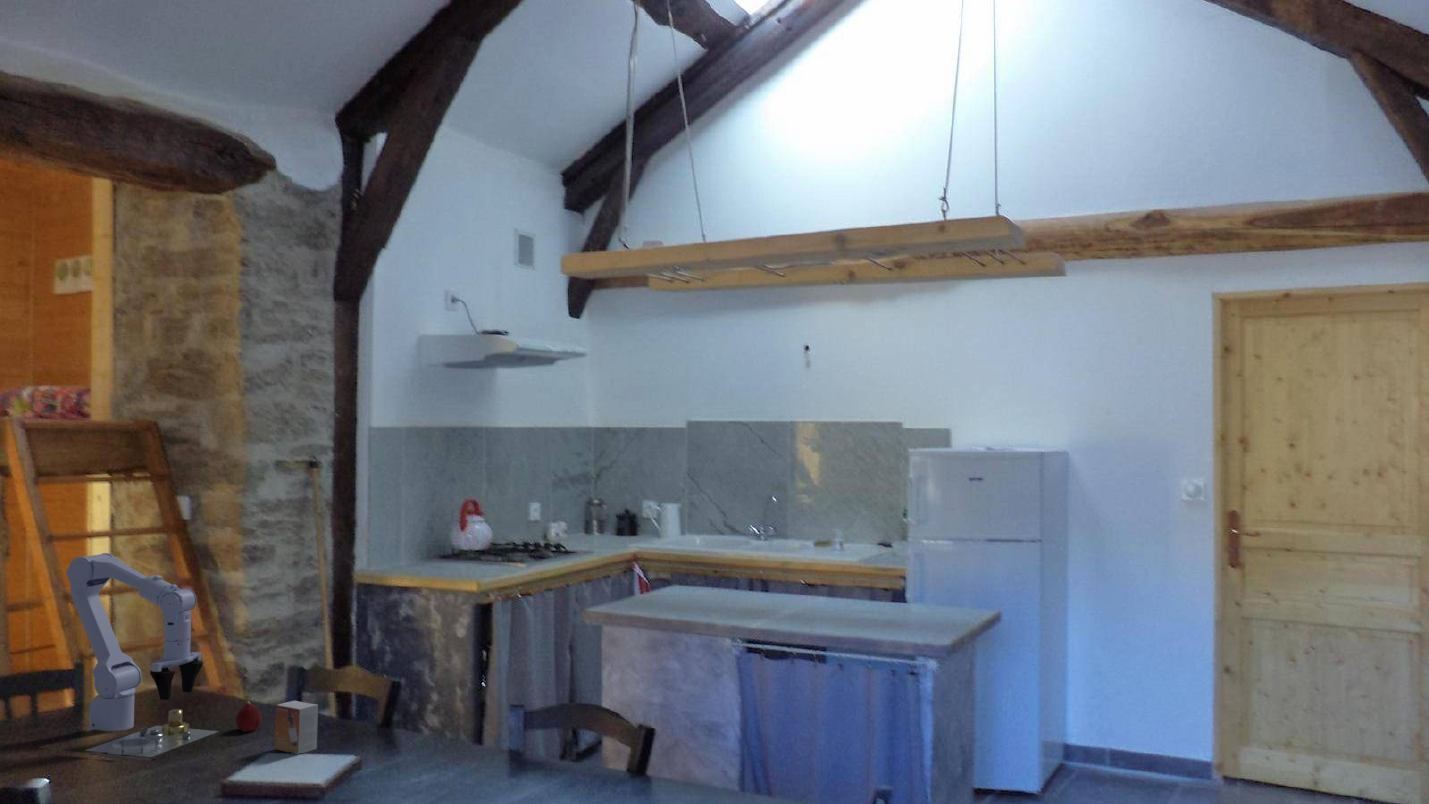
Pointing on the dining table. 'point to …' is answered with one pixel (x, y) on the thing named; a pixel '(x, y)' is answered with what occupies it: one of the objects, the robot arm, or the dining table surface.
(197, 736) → the carrier plate
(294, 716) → the small box
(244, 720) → the onion
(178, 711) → the gear
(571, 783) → the dining table surface
